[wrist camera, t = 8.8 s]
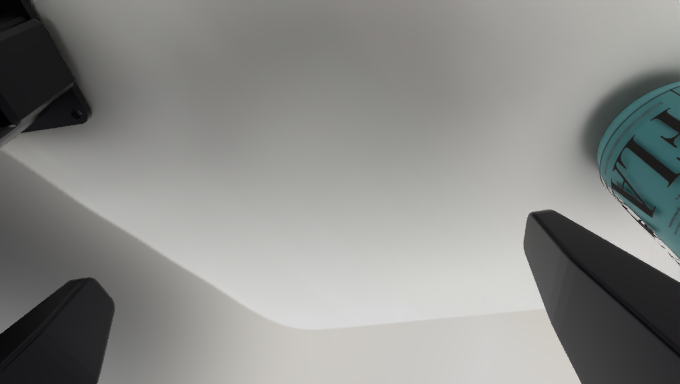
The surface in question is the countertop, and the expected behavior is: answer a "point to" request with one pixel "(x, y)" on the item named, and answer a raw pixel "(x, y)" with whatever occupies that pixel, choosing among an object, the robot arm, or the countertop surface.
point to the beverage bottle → (647, 162)
